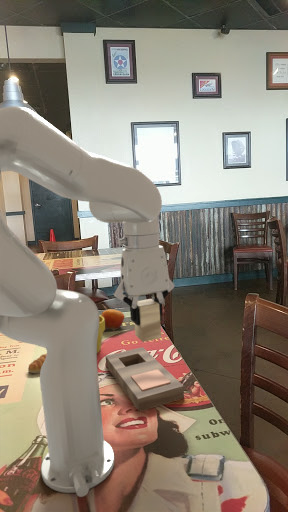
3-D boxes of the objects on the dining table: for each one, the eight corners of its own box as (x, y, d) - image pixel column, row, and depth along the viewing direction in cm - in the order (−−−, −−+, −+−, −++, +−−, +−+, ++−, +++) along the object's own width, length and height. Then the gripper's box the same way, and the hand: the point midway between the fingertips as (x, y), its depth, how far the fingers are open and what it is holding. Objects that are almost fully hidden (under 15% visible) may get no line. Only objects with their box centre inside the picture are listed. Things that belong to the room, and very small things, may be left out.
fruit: (95, 330, 126) (98, 306, 129) (103, 333, 133) (106, 311, 136) (117, 331, 124) (120, 307, 126) (125, 335, 131) (128, 312, 134)
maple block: (161, 337, 85) (159, 303, 84) (142, 342, 84) (140, 307, 82) (153, 331, 89) (151, 298, 88) (135, 335, 88) (132, 302, 86)
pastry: (36, 378, 99) (34, 365, 98) (23, 371, 104) (22, 358, 103) (66, 365, 105) (65, 352, 105) (53, 358, 110) (52, 346, 110)
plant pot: (101, 359, 108) (98, 326, 106) (67, 358, 109) (63, 326, 108) (110, 344, 118) (108, 314, 116) (78, 343, 119) (76, 314, 118)
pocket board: (184, 398, 85) (183, 384, 85) (139, 411, 81) (138, 397, 81) (143, 357, 107) (142, 346, 107) (106, 366, 103) (105, 354, 103)
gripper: (110, 248, 76) (117, 334, 79) (184, 239, 82) (187, 319, 86) (99, 244, 83) (106, 323, 86) (168, 235, 89) (172, 309, 92)
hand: (147, 320), depth 86 cm, fingers closed on maple block, 4 cm apart
